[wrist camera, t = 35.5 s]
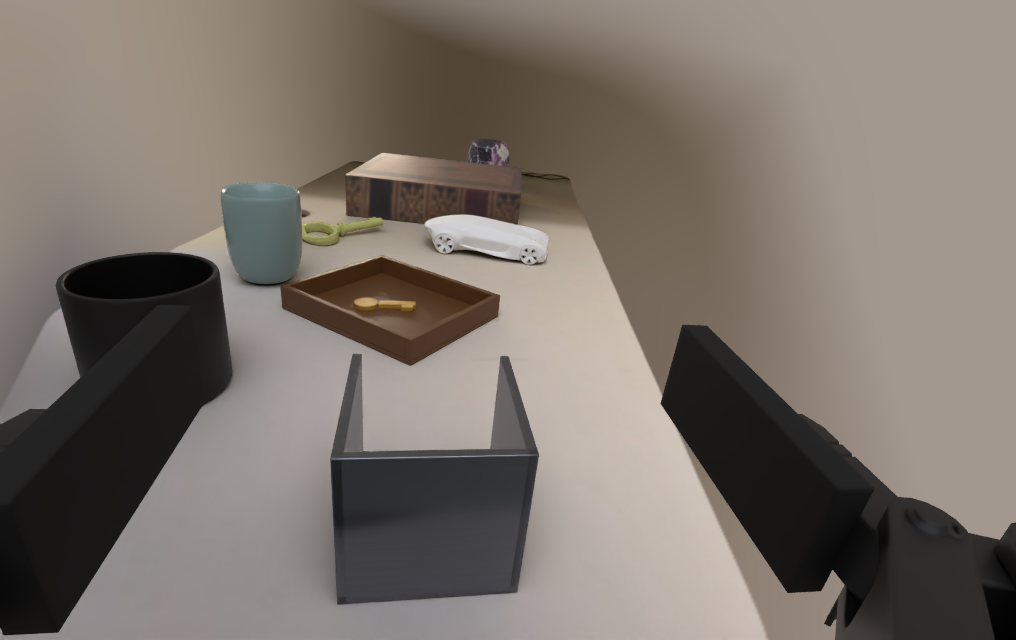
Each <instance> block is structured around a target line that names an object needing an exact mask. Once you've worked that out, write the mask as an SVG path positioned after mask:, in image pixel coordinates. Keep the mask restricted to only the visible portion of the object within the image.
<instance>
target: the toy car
mask: <svg viewBox="0 0 1016 640" xmlns="http://www.w3.org/2000/svg"><path fill="white" fill-rule="evenodd" d="M425 227H426V230H427V231H428V232H430V233H431V237H432V241H433V243H434V245H435V247H436V249H437V250H438V251H439V252H441V253H444V254H447V253H450V252H451V251H452V250H453V249H454V248H455V249H454V250H475V251H479V252H483V253H486V254H490V255H494V256H497V257H501V258H507V259H513V260H520V259H521V261H522V262H523V263H525V264H528V265H531V264H534V263H536V262H537V263H539V262H543V261H544V260H545V259H546V256H547V253H548V250H547V248H546V246H547V245H548V242H549V237H548V236H547V235H546V234H545V233H543V232H541V231H539V230H536V229H533V228H530V227H526V226H522V225H516V224H511V223H507V222H502V221H498V220H494V219H489V218H485V217H480V216H474V215H448V216H441V217H436V218H433V219H430V220H428V221H426V223H425ZM441 236H442V240H440V239H438V238H440V237H441ZM447 237H448V238H449V239H451V240H449V241H447ZM443 242H444V243H443ZM446 243H447V244H446ZM438 244H440V245H441V246H439V245H438ZM448 245H452V248H451V249H450V247H449V246H448ZM444 247H445V249H446V250H444ZM526 248H527V251H528V252H526V251H524V250H525V249H526ZM532 250H534V252H533V253H532ZM529 253H530V254H529ZM522 255H523V256H526V257H525V258H523V256H522ZM533 256H534V257H536V259H534V258H533ZM529 259H530V261H528V260H529Z"/></svg>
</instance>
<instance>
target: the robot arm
mask: <svg viewBox="0 0 1016 640" xmlns="http://www.w3.org/2000/svg"><path fill="white" fill-rule="evenodd" d="M206 399H207V396H206V389H205V383H204V377H203V371H202V364H201V358H200V352H199V345H198V339H197V333H196V326H195V320H194V314H193V307H192V306H181V305H158V306H157V307H156V308H154V309H153V310H152V311H151V312H150V313H149V314H148V315H147V316H146V317H145V318H144V319H143V320H142V321H141V322H140V323H139V324H137V325H136V326H135V327H134V328H133V329H132V330H131V331H130V332H129V333H128V334H127V335H126V336H125V337H124V338H123V339H121V340H120V341H119V342H118V343H117V344H116V345H115V346H114V347H113V348H112V349H111V350H110V351H109V352H108V353H107V354H105V355H104V356H103V357H102V358H101V359H100V360H99V361H98V362H97V363H96V364H95V365H94V366H93V367H92V368H91V369H90V370H88V371H87V372H86V373H85V374H84V375H83V376H82V377H81V378H80V379H79V380H78V381H77V382H76V383H75V384H74V385H72V386H71V387H70V388H69V389H68V390H67V391H66V392H65V393H64V394H63V395H62V396H61V397H60V398H59V399H58V400H57V401H55V402H54V403H53V404H52V405H51V406H50V407H49V408H48V409H29V410H27V411H25V412H24V413H22V414H20V415H18V416H16V417H14V418H12V419H10V420H8V421H6V422H5V423H3V424H1V425H0V628H1V630H2V632H3V634H4V635H20V634H39V633H57V632H59V630H60V629H61V627H62V626H63V624H64V623H65V621H66V619H67V618H68V616H69V615H70V613H71V612H72V610H73V608H74V607H75V605H76V604H77V602H78V601H79V599H80V597H81V596H82V594H83V593H84V591H85V590H86V588H87V586H88V585H89V583H90V582H91V580H92V578H93V577H94V575H95V574H96V572H97V571H98V569H99V567H100V566H101V564H102V563H103V561H104V560H105V558H106V556H107V555H108V553H109V552H110V550H111V549H112V547H113V545H114V544H115V542H116V541H117V539H118V538H119V536H120V534H121V533H122V531H123V530H124V528H125V527H126V525H127V523H128V522H129V520H130V519H131V517H132V516H133V514H134V512H135V511H136V509H137V508H138V506H139V504H140V503H141V501H142V500H143V498H144V497H145V495H146V493H147V492H148V490H149V489H150V487H151V486H152V484H153V482H154V481H155V479H156V478H157V476H158V475H159V473H160V471H161V470H162V468H163V467H164V465H165V464H166V462H167V460H168V459H169V457H170V456H171V454H172V453H173V451H174V449H175V448H176V446H177V445H178V443H179V442H180V440H181V438H182V437H183V435H184V434H185V432H186V430H187V429H188V427H189V426H190V424H191V423H192V421H193V419H194V418H195V416H196V415H197V413H198V412H199V410H200V408H201V407H202V405H203V404H204V402H205V401H206ZM661 405H662V407H663V408H664V410H665V411H666V412H667V414H668V415H669V417H670V418H671V420H672V421H673V423H674V424H675V426H676V427H677V429H678V430H679V432H680V433H681V435H682V436H683V438H684V439H685V441H686V442H687V444H688V445H689V447H690V448H691V450H692V451H693V452H694V454H695V456H696V457H697V459H698V460H699V462H700V463H701V465H702V466H703V468H704V469H705V471H706V472H707V473H708V475H709V477H710V478H711V480H712V481H713V482H714V484H715V485H716V487H717V488H718V490H719V491H720V493H721V494H722V496H723V497H724V499H725V500H726V502H727V503H728V505H729V506H730V508H731V509H732V511H733V512H734V514H735V515H736V517H737V518H738V519H739V521H740V522H741V524H742V526H743V527H744V529H745V530H746V532H747V533H748V534H749V536H750V537H751V539H752V541H753V542H754V543H755V545H756V547H757V548H758V549H759V551H760V552H761V554H762V555H763V557H764V558H765V560H766V561H767V563H768V564H769V566H770V567H771V569H772V570H773V571H774V573H775V575H776V576H777V577H778V579H779V581H780V582H781V583H782V585H783V587H784V588H785V590H786V591H787V593H795V592H814V591H821V590H822V588H823V587H824V585H825V583H826V581H827V579H828V577H829V575H830V573H831V571H832V569H833V570H834V572H835V573H836V574H837V576H838V577H839V578H840V579H841V581H842V582H843V583H844V584H845V585H844V587H843V589H842V591H841V593H840V595H839V596H838V598H837V600H836V602H835V604H834V606H833V607H832V609H831V611H830V613H829V615H828V616H827V619H826V621H825V623H824V624H826V625H828V626H831V625H832V623H833V621H834V620H835V619H837V621H836V636H835V640H1016V523H1012V524H1011V525H1010V526H1009V527H1008V529H1007V530H1006V532H1005V533H1004V535H1003V536H1002V538H1001V539H1000V540H998V539H993V538H989V537H984V536H979V535H975V534H971V533H968V532H967V530H966V529H965V528H964V527H963V526H962V525H961V524H960V523H959V522H958V521H957V520H956V519H954V518H953V517H951V516H950V515H948V514H947V513H945V512H944V511H942V510H941V509H939V508H936V507H935V506H932V505H930V504H928V503H926V502H923V501H919V500H916V499H913V498H903V497H897V496H896V495H895V494H894V493H893V492H892V491H891V490H890V489H889V488H887V486H886V485H884V484H883V483H882V482H881V481H880V480H879V479H878V478H877V477H876V476H875V475H874V474H873V473H872V472H871V471H870V470H868V469H867V468H866V467H865V466H864V465H863V464H862V463H861V462H860V461H859V460H858V459H857V458H856V457H852V454H851V453H850V452H849V451H848V450H847V449H846V448H845V447H844V446H843V445H839V441H838V440H837V439H835V438H834V437H833V436H832V435H831V434H830V433H829V432H828V431H827V430H826V429H825V428H824V427H822V426H821V425H819V424H817V423H816V422H814V421H813V420H811V419H809V418H808V417H806V416H804V415H803V414H797V413H796V412H795V411H794V410H793V409H792V408H791V407H790V406H789V405H788V404H787V403H786V402H785V401H784V400H783V399H782V398H781V397H780V396H779V395H778V394H777V393H776V392H775V391H774V390H773V389H771V388H770V387H769V386H768V385H767V384H766V383H765V382H764V381H763V380H762V379H761V378H760V377H759V376H758V375H757V374H756V373H755V372H754V371H753V370H752V369H751V368H750V367H749V366H748V365H747V364H745V362H744V361H743V360H741V359H740V358H739V357H738V356H737V355H736V354H735V353H734V352H733V351H732V350H731V349H730V348H729V347H728V346H727V345H726V344H725V343H724V342H723V341H722V340H721V339H720V338H719V337H718V336H717V335H716V334H715V333H714V332H712V330H711V329H709V328H708V327H707V326H700V325H697V326H696V325H682V328H681V332H680V335H679V339H678V343H677V346H676V350H675V353H674V357H673V361H672V364H671V368H670V371H669V375H668V379H667V382H666V386H665V390H664V393H663V397H662V400H661Z"/></svg>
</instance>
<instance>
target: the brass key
mask: <svg viewBox="0 0 1016 640" xmlns="http://www.w3.org/2000/svg"><path fill="white" fill-rule="evenodd" d="M354 307H355V308H356V309H358V310H362V311H370V310H374V309H376V308H377V307H378V301H377V300H376V299H374V298H368V297H364V298H359V299H356V300H355V301H354ZM379 308H388V309H401V311H413V309H416V302H415V301H381V300H380V301H379Z"/></svg>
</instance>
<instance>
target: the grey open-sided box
mask: <svg viewBox="0 0 1016 640" xmlns="http://www.w3.org/2000/svg"><path fill="white" fill-rule="evenodd" d="M538 458H539V454H538V451H537V447H536V444H535V441H534V438H533V434H532V431H531V428H530V425H529V421H528V418H527V415H526V412H525V408H524V405H523V402H522V399H521V395H520V392H519V389H518V386H517V382H516V379H515V376H514V373H513V370H512V366H511V363H510V360H509V357H508V356H501V357H500V366H499V375H498V384H497V393H496V402H495V411H494V420H493V429H492V438H491V447H490V449H475V450H417V451H363V412H362V355H361V354H353V355H352V360H351V364H350V369H349V374H348V379H347V383H346V388H345V393H344V397H343V402H342V407H341V411H340V416H339V421H338V426H337V430H336V435H335V440H334V444H333V449H332V454H331V458H330V463H331V484H332V505H333V526H334V547H335V568H336V589H337V604H347V603H362V602H377V601H392V600H407V599H422V598H437V597H452V596H467V595H482V594H497V593H512V592H517V590H518V583H519V577H520V571H521V565H522V558H523V552H524V546H525V540H526V533H527V527H528V521H529V514H530V508H531V502H532V496H533V489H534V483H535V477H536V471H537V464H538Z"/></svg>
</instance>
